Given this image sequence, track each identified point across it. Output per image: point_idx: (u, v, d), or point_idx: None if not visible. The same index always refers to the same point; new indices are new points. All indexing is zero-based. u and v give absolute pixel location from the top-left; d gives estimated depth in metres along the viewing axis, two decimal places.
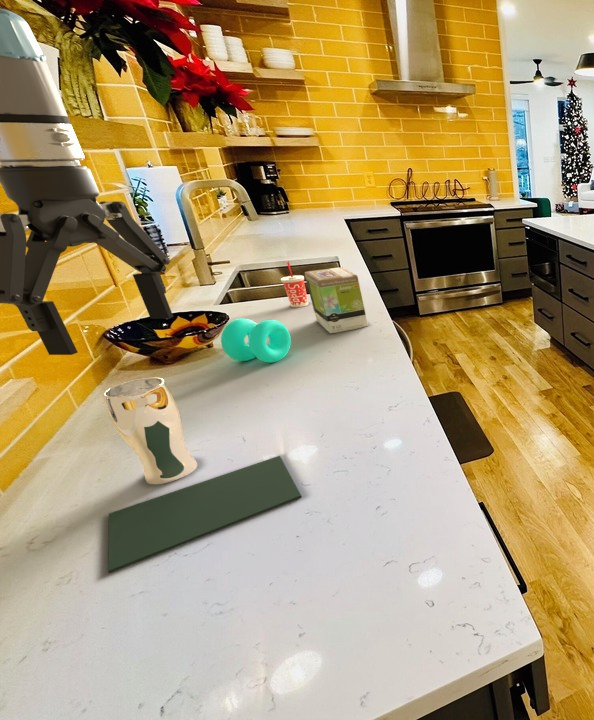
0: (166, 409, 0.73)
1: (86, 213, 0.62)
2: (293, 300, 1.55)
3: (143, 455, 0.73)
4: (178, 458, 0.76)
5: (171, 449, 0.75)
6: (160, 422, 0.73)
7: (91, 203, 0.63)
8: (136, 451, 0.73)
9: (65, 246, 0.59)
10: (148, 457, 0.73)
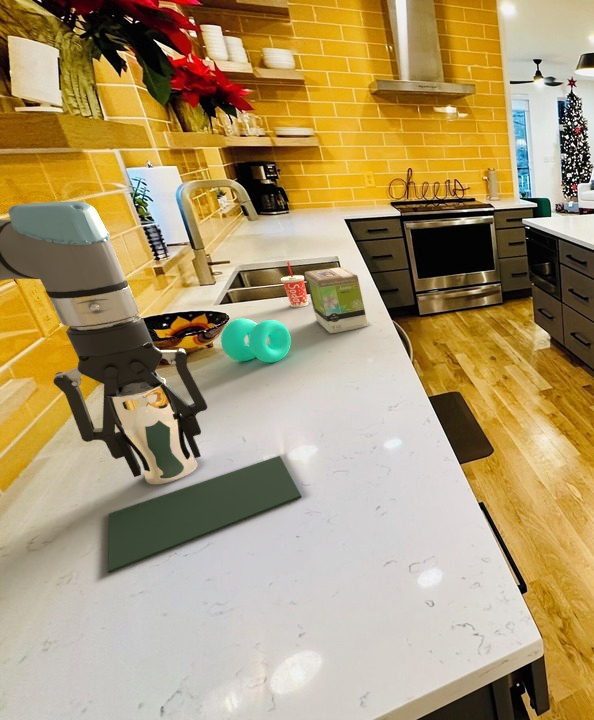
0: (167, 409, 0.73)
1: (136, 359, 0.70)
2: (293, 300, 1.55)
3: (143, 455, 0.73)
4: (178, 458, 0.76)
5: (171, 449, 0.75)
6: (161, 422, 0.73)
7: (144, 350, 0.71)
8: (136, 451, 0.73)
9: None
10: (149, 457, 0.74)
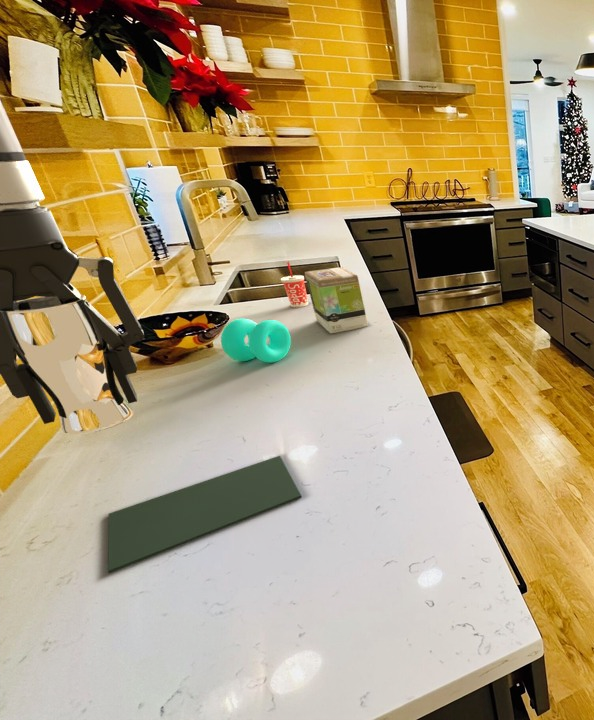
0: (87, 334, 0.56)
1: (41, 263, 0.53)
2: (293, 300, 1.55)
3: (56, 394, 0.56)
4: (105, 402, 0.58)
5: (95, 388, 0.57)
6: (78, 350, 0.55)
7: (51, 252, 0.53)
8: (46, 388, 0.55)
9: None
10: (63, 397, 0.56)
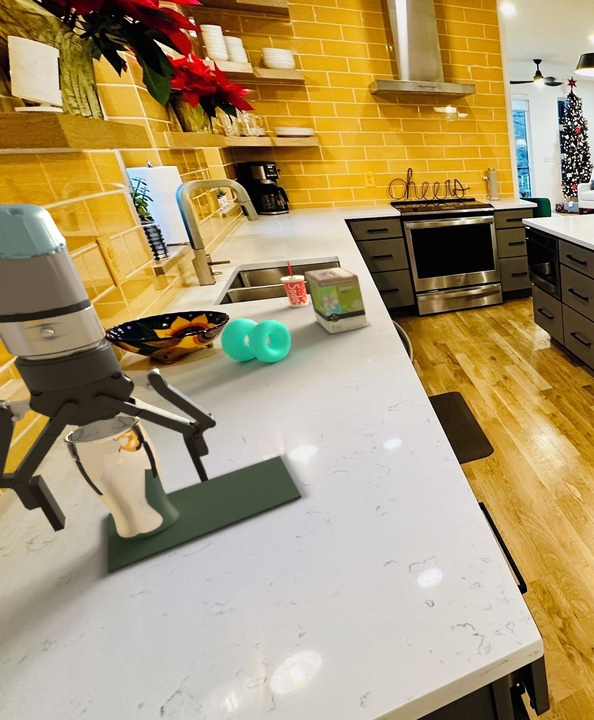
0: (141, 453, 0.62)
1: (102, 392, 0.59)
2: (293, 300, 1.55)
3: (114, 508, 0.62)
4: (156, 510, 0.65)
5: (147, 499, 0.64)
6: (134, 469, 0.61)
7: (111, 381, 0.59)
8: (105, 503, 0.62)
9: (60, 431, 0.57)
10: (120, 510, 0.62)
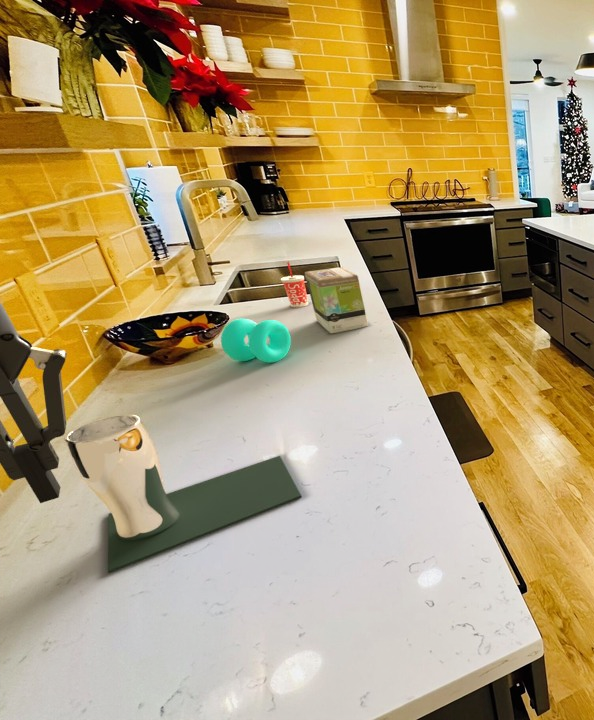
0: (142, 453, 0.62)
1: None
2: (293, 300, 1.55)
3: (114, 508, 0.62)
4: (156, 510, 0.65)
5: (148, 499, 0.64)
6: (134, 469, 0.61)
7: (1, 343, 0.52)
8: (105, 503, 0.62)
9: None
10: (120, 510, 0.62)
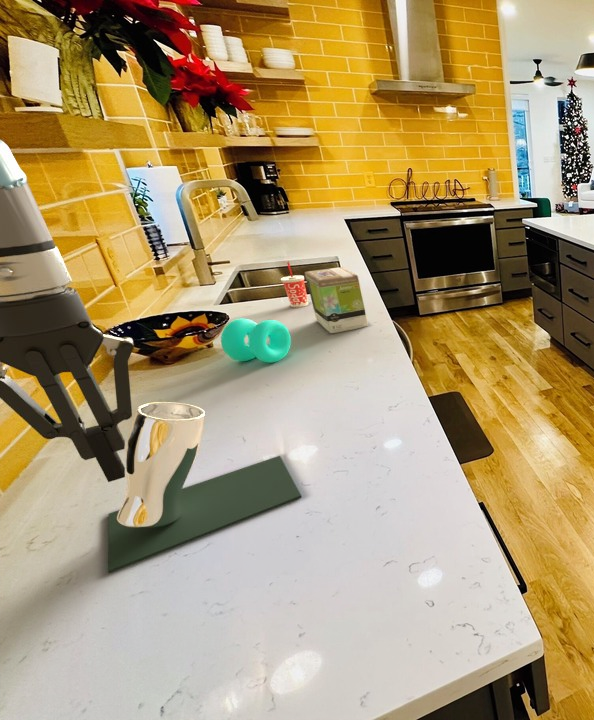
0: (192, 444, 0.65)
1: (68, 341, 0.56)
2: (293, 300, 1.55)
3: (137, 489, 0.63)
4: (169, 502, 0.65)
5: (169, 490, 0.65)
6: (179, 457, 0.64)
7: (78, 330, 0.56)
8: (131, 482, 0.63)
9: None
10: (141, 493, 0.63)
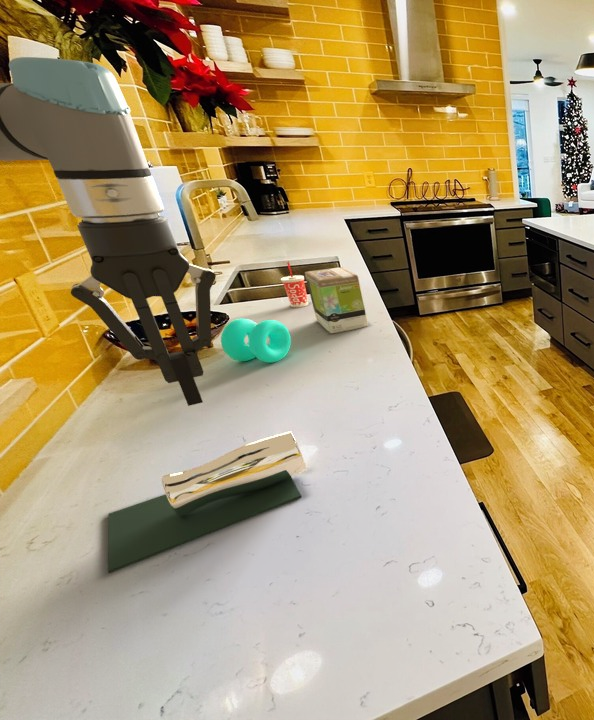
0: (279, 481, 0.73)
1: (159, 266, 0.59)
2: (293, 300, 1.55)
3: (214, 475, 0.68)
4: (205, 502, 0.68)
5: (222, 495, 0.69)
6: (266, 482, 0.72)
7: (168, 256, 0.59)
8: (219, 468, 0.69)
9: None
10: (212, 480, 0.68)
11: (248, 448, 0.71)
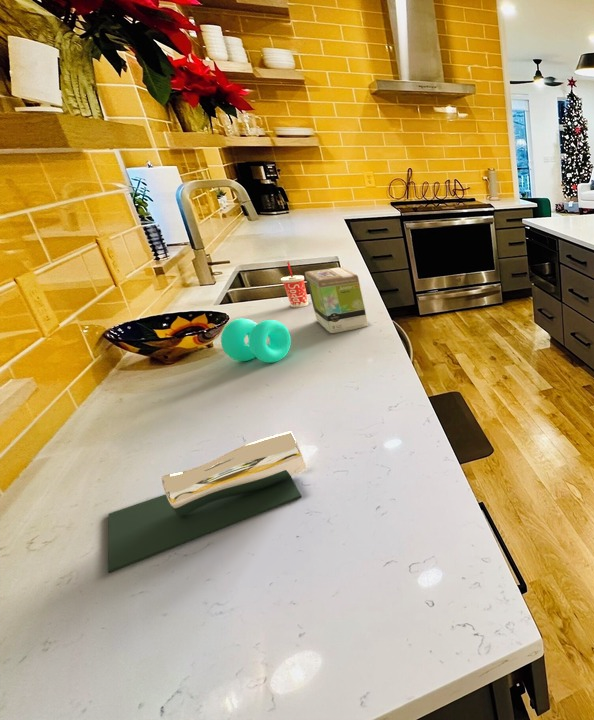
0: (279, 481, 0.73)
1: None
2: (293, 300, 1.55)
3: (214, 475, 0.68)
4: (205, 502, 0.68)
5: (222, 495, 0.69)
6: (266, 482, 0.72)
7: None
8: (219, 468, 0.69)
9: None
10: (212, 480, 0.68)
11: (248, 448, 0.71)
